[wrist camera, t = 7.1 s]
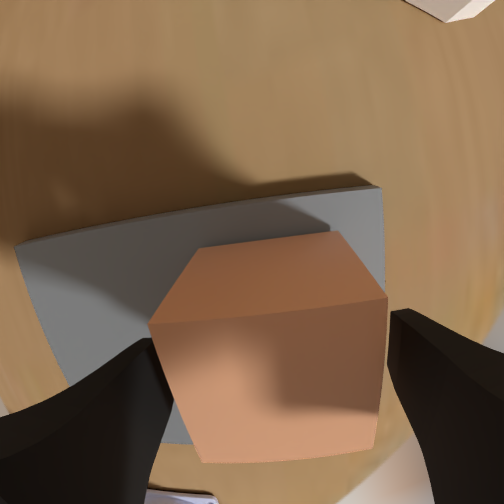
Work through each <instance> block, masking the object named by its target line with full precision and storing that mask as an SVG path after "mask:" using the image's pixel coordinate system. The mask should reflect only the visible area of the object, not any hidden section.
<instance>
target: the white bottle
mask: <svg viewBox="0 0 504 504" xmlns="http://www.w3.org/2000/svg"><path fill="white" fill-rule="evenodd" d="M405 1H406V2H408V3H410V4H412V5H414V6H416V7H418V8H420V9H422V10H424V11H425V12H427V13H429V14H431V15H433V16H434V17H436V18H438V19H440V20H441V21H443V22H445V23H447V22H451V21H456V20H461V19H466V18H472V17H475V16H476V15H477V14H478V13H480V12H481V11H482V10H483V9H485V8H486V7H487V6H488V5H490V4H491V3H492V2H493V1H495V0H405Z"/></svg>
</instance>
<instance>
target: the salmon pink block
mask: <svg viewBox="0 0 504 504" xmlns="http://www.w3.org/2000/svg"><path fill="white" fill-rule="evenodd" d="M387 309H388V297H387V295H386V294H385V293H384V291H383V290H382V288H381V287H380V286H379V284H378V283H377V281H376V280H375V279H374V277H373V276H372V275H371V273H370V272H369V270H368V269H367V268H366V266H365V265H364V264H363V262H362V261H361V260H360V258H359V257H358V256H357V254H356V253H355V252H354V250H353V249H352V248H351V246H350V245H349V244H348V243H347V241H346V240H345V239H344V237H343V236H342V235H341V234H340V232H339V231H338V230H337V231H329V232H321V233H313V234H305V235H297V236H289V237H282V238H274V239H266V240H258V241H251V242H243V243H235V244H228V245H220V246H213V247H205V248H199V249H198V250H197V251H196V253H195V254H194V256H193V257H192V259H191V260H190V261H189V263H188V264H187V266H186V267H185V269H184V270H183V272H182V273H181V275H180V276H179V277H178V279H177V280H176V282H175V283H174V285H173V286H172V288H171V289H170V291H169V292H168V294H167V295H166V297H165V298H164V300H163V301H162V303H161V304H160V306H159V307H158V309H157V310H156V312H155V313H154V315H153V316H152V318H151V319H150V321H149V322H148V324H147V325H148V328H149V331H150V334H151V337H152V340H153V343H154V346H155V349H156V352H157V354H158V357H159V360H160V363H161V366H162V368H163V371H164V374H165V376H166V379H167V382H168V384H169V387H170V389H171V392H172V394H173V397H174V399H175V402H176V404H177V407H178V409H179V412H180V414H181V417H182V419H183V421H184V424H185V426H186V428H187V431H188V433H189V435H190V437H191V440H192V442H193V444H194V446H195V448H196V451H197V453H198V455H199V457H200V459H201V461H202V463H257V462H275V461H288V460H299V459H308V458H317V457H324V456H332V455H338V454H344V453H350V452H356V451H361V450H367V449H372V448H373V444H374V439H375V433H376V426H377V420H378V413H379V405H380V397H381V389H382V380H383V370H384V359H385V346H386V331H387Z"/></svg>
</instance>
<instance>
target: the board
mask: <svg viewBox="0 0 504 504" xmlns="http://www.w3.org/2000/svg"><path fill="white" fill-rule="evenodd" d="M337 230H338V231H339V232H340V234H341V235H342V236H343V237H344V239H345V240H346V241H347V243H348V244H349V245H350V246H351V248H352V249H353V250H354V252H355V253H356V254H357V256H358V257H359V258H360V260H361V261H362V262H363V264H364V265H365V266H366V268H367V269H368V270H369V272H370V273H371V275H372V276H373V277H374V279H375V280H376V281H377V283H378V284H379V286H380V287H381V288H382V290H383V291H384V293H385V245H384V219H383V201H382V188H380V187H378V186H375V185H367V186H357V187H347V188H338V189H329V190H320V191H311V192H303V193H295V194H287V195H279V196H271V197H264V198H257V199H249V200H242V201H235V202H229V203H222V204H215V205H209V206H203V207H196V208H190V209H184V210H178V211H172V212H166V213H161V214H155V215H149V216H144V217H138V218H133V219H128V220H122V221H117V222H112V223H107V224H102V225H97V226H92V227H87V228H82V229H77V230H73V231H68V232H63V233H59V234H54V235H50V236H45V237H41V238H36V239H32V240H28V241H25V242H22V243H20V244H18V245H16V246H14V249H15V252H16V256H17V259H18V262H19V266H20V269H21V272H22V275H23V278H24V281H25V284H26V287H27V290H28V293H29V296H30V298H31V301H32V304H33V306H34V309H35V312H36V314H37V317H38V319H39V322H40V324H41V327H42V329H43V331H44V334H45V336H46V338H47V341H48V343H49V345H50V347H51V349H52V352H53V354H54V356H55V358H56V360H57V362H58V364H59V366H60V368H61V370H62V372H63V374H64V376H65V378H66V380H67V382H68V384H69V386H70V387H71V386H72V385H74V384H75V383H77V382H79V381H80V380H82V379H83V378H85V377H86V376H88V375H89V374H91V373H92V372H94V371H95V370H97V369H98V368H100V367H101V366H102V365H104V364H105V363H107V362H108V361H109V360H111V359H112V358H113V357H115V356H116V355H118V354H119V353H120V352H122V351H123V350H125V349H126V348H127V347H129V346H130V345H132V344H133V343H135V342H137V341H138V340H140V339H142V338H152V337H151V334H150V331H149V328H148V325H147V324H148V322H149V321H150V319H151V318H152V316H153V315H154V313H155V312H156V310H157V309H158V307H159V306H160V304H161V303H162V301H163V300H164V298H165V297H166V295H167V294H168V292H169V291H170V289H171V288H172V286H173V285H174V283H175V282H176V280H177V279H178V277H179V276H180V275H181V273H182V272H183V270H184V269H185V267H186V266H187V264H188V263H189V261H190V260H191V259H192V257H193V256H194V254H195V253H196V251H197V250H198V249H199V248H205V247H213V246H220V245H228V244H235V243H243V242H251V241H258V240H266V239H274V238H282V237H289V236H297V235H305V234H313V233H321V232H329V231H337ZM161 443H172V444H193V442H192V440H191V437H190V435H189V433H188V431H187V428H186V426H185V424H184V421H183V419H182V417H181V414H180V412H179V409H178V407H177V404H176V402H175V399H174V402H173V407H172V412H171V415H170V418H169V420H168V423H167V426H166V429H165V432H164V435H163V437H162V440H161Z"/></svg>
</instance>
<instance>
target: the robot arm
mask: <svg viewBox="0 0 504 504" xmlns="http://www.w3.org/2000/svg"><path fill="white" fill-rule="evenodd" d="M387 366H388V369H389V373H390V376H391V379H392V382H393V386H394V389H395V391H396V393H397V396H398V398H399V400H400V402H401V404H402V407H403V409H404V411H405V413H406V415H407V417H408V420H409V422H410V424H411V426H412V428H413V431H414V433H415V435H416V437H417V439H418V442H419V445H420V447H421V450H422V453H423V456H424V459H425V463H426V467H427V471H428V474H429V478H430V483H431V487H432V492H433V497H434V502H435V504H504V353H501V352H498V351H496V350H493V349H490V348H488V347H485V346H483V345H481V344H479V343H477V342H474V341H472V340H470V339H468V338H466V337H464V336H462V335H460V334H458V333H456V332H454V331H452V330H450V329H448V328H446V327H444V326H443V325H441V324H439V323H437V322H435V321H433V320H431V319H430V318H428V317H426V316H424V315H422V314H420V313H418V312H416V311H414V310H412V309H409V308H407V309H402V310H396V311H391V314H390V332H389V347H388V359H387ZM173 402H174V397H173V394H172V392H171V389H170V387H169V384H168V382H167V379H166V376H165V374H164V371H163V368H162V366H161V363H160V360H159V357H158V354H157V352H156V349H155V346H154V343H153V340H152V338H142V339H140V340H138V341H137V342H135V343H133V344H132V345H130V346H129V347H127V348H126V349H125V350H123V351H122V352H120V353H119V354H118V355H116V356H115V357H113V358H112V359H111V360H109V361H108V362H107V363H105V364H104V365H102V366H101V367H100V368H98V369H97V370H95V371H94V372H92V373H91V374H89V375H88V376H86V377H85V378H83V379H82V380H80V381H79V382H77V383H75V384H74V385H72V386H71V387H69V388H67V389H66V390H64V391H62V392H60V393H58V394H56V395H54V396H53V397H51V398H49V399H47V400H45V401H43V402H40V403H38V404H35V405H33V406H31V407H28V408H26V409H23V410H21V411H18V412H15V413H12V414H9V415H6V416H3V417H0V504H219V503H218V501H217V499H216V498H215V497H214V496H212V495H202V494H187V493H176V492H167V491H159V490H151V489H147V486H148V481H149V477H150V473H151V469H152V466H153V463H154V460H155V457H156V454H157V451H158V449H159V446H160V443H161V440H162V437H163V435H164V432H165V429H166V426H167V423H168V420H169V418H170V415H171V412H172V407H173Z"/></svg>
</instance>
